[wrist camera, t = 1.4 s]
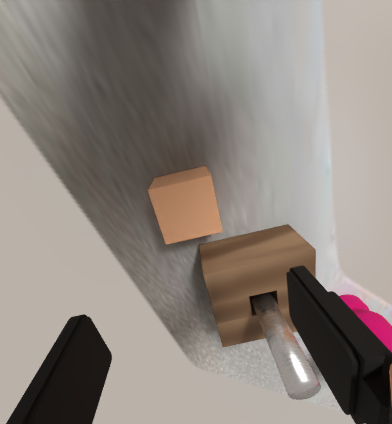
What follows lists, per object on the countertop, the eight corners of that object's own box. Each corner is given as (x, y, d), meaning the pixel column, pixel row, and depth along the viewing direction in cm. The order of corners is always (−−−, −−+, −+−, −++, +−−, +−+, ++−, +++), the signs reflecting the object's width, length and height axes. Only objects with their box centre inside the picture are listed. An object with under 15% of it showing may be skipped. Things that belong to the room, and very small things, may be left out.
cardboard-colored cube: (154, 177, 23) (147, 190, 19) (205, 165, 23) (211, 175, 19) (168, 223, 26) (165, 244, 21) (215, 212, 26) (222, 231, 21)
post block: (199, 244, 27) (203, 274, 22) (288, 224, 27) (315, 249, 21) (215, 308, 32) (222, 347, 26) (292, 292, 32) (315, 327, 26)
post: (250, 294, 24) (286, 384, 16) (272, 289, 24) (320, 377, 15) (253, 310, 25) (288, 402, 17) (274, 305, 25) (320, 395, 16)
